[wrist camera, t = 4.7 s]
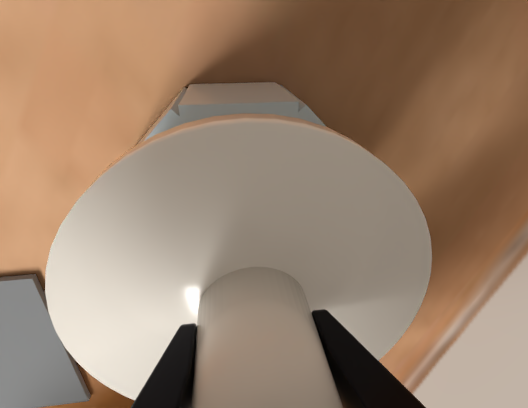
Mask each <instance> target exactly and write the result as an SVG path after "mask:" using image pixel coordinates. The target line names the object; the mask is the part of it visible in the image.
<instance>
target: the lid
mask: <svg viewBox="0 0 528 408" xmlns="http://www.w3.org/2000/svg"><path fill="white" fill-rule="evenodd" d="M431 264H432V248H431V237H430V233H429V229H428V226H427V222H426V218H425V216H424V214H423V212H422V210H421V208H420V206H419V204H418V202H417V199H416V198H415V197H414V195H413V194H412V193H411V191H410V190H409V188H408V187H407V186H406V184H405V183H404V182H403V181H402V180H401V179H400V178H399V177H398V176H397V175H396V174H395V173H394V172H393V171H392V170H391V169H390V168H389V167H388V166H387V165H386V164H385V163H383V162H382V161H381V160H379V159H378V158H377V157H375V156H374V155H373V154H372V153H370V152H369V151H368V150H366V149H365V148H363V147H362V146H360V145H359V144H357V143H356V142H355V141H353V140H352V139H350V138H348V137H346V136H344V135H342V134H340V133H338V132H336V131H334V130H332V129H330V128H328V127H325V126H322V125H319V124H316V123H313V122H309V121H306V120H303V119H299V118H293V117H287V116H281V115H275V114H252V113H241V114H231V115H222V116H213V117H209V118H205V119H200V120H196V121H192V122H188V123H184V124H181V125H179V126H176V127H174V128H171V129H168V130H166V131H163V132H161V133H158V134H156V135H154V136H152V137H150V138H149V139H147V140H145V141H143V142H142V143H140V144H138V145H136V146H134V147H133V148H131V149H130V150H128V151H127V152H126V153H124V154H123V155H122V156H121V157H119V158H118V159H117V160H115V161H114V162H113V163H111V164H110V165H109V166H108V167H107V168H106V169H105V170H104V171H103V172H102V173H101V174H100V175H99V177H98V178H97V179H96V180H95V181H94V182H93V183H92V184H91V185H90V186H89V187H88V189H87V190H86V191H85V192H84V193H83V195H82V196H81V197H80V198H79V199H78V201H77V202H76V203H75V205H74V206H73V207H72V209H71V210H70V212H69V213H68V215H67V216H66V218H65V219H64V221H63V222H62V224H61V225H60V228H59V230H58V232H57V235H56V237H55V239H54V241H53V244H52V246H51V249H50V253H49V258H48V262H47V266H46V277H45V294H46V300H47V306H48V312H49V315H50V318H51V320H52V323H53V326H54V329H55V331H56V333H57V334H58V336H59V338H60V340H61V341H62V343H63V345H64V347H65V348H66V349H67V351H68V352H69V353H70V354H71V355H72V357H73V358H74V359H75V360H76V362H77V363H78V364H79V365H80V366H82V367H83V368H84V369H85V370H86V371H87V372H88V373H89V374H90V375H91V376H93V377H94V378H96V379H97V380H98V381H100V382H101V383H103V384H104V385H105V386H107V387H109V388H110V389H112V390H114V391H116V392H118V393H120V394H121V395H123V396H125V397H128V398H130V399H132V400H136V398H137V396H138V395H139V393H140V391H141V390H142V388H143V386H144V385H145V383H146V381H147V380H148V378H149V376H150V375H151V373H152V371H153V370H154V368H155V366H156V365H157V363H158V361H159V360H160V358H161V356H162V355H163V353H164V352H165V350H166V348H167V347H168V345H169V343H170V342H171V340H172V338H173V337H174V335H175V333H176V332H177V330H178V328H179V327H180V326H181V325H182V324H190V323H195V324H196V326H197V332H196V347H195V361H194V375H193V389H192V403H191V408H343V405H342V402H341V399H340V396H339V394H338V391H337V388H336V385H335V382H334V379H333V376H332V373H331V370H330V367H329V364H328V361H327V358H326V355H325V352H324V349H323V346H322V343H321V340H320V337H319V334H318V331H317V328H316V325H315V322H314V320H313V317H312V314H311V313H312V311H313V310H321V309H325V310H327V311H328V312H329V313H330V314H331V315H332V316H333V317H334V318H335V319H337V320H338V321H339V322H340V323H341V324H342V325H343V326H344V327H345V328H346V329H347V330H348V331H349V332H350V333H351V334H352V335H353V336H354V337H355V338H356V339H357V340H358V341H359V342H360V343H361V344H362V345H363V346H364V347H365V348H366V349H367V350H368V351H369V352H370V353H371V354H372V355H373V356H374V357H375V358H376V359H377V360H379V359H381V358H382V357H383V356H384V355H385V354H386V353H387V352H388V351H389V350H390V349H391V348H392V347H393V346H394V345H395V344H396V343H397V341H398V340H399V339H400V338H401V337H402V335H403V334H404V333H405V331H406V330H407V329H408V327H409V326H410V324H411V323H412V321H413V319H414V318H415V316H416V314H417V312H418V310H419V309H420V306H421V304H422V301H423V299H424V296H425V294H426V291H427V287H428V283H429V279H430V275H431Z"/></svg>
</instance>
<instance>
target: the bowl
mask: <svg viewBox="0 0 528 408" xmlns="http://www.w3.org/2000/svg"><path fill="white" fill-rule="evenodd" d="M241 113H252V114H275V115H281V116H287V117H293V118H299V119H303V120H306V121H309V122H313V123H316V124H319V125H322V126H325V124H324V123H323V122H322V121H321V120H320V119H319V118H318V117H317V116H316V115H315V114H314V112H313V111H312V110H311V109H310V108H309V107H308V106H307V105H306V104H305V103H304V102H302V101H301V100H300V99H299V98H297V97H296V96H295V95H293V94H292V93H291V92H290V91H288V90H287V89H286V88H285V87H283V86H282V85H281V84H280V85H278V84H277V83H276V82H254V83H211V84H190V85H189V87H188V88H185V87H184V88H183V89H182V90H181V91H180V93H179V94H178V95H177V96H176V97H175V99H174V100H173V101H172V102H171V104H170V105H169V106H168V107H167V108H166V110H165V111H164V112H163V113H162V114H161V116H160V117H159V118H158V119H157V120H156V122H155V123H154V124H153V125H152V127H151V128H150V129H149V130H148V131H147V133H146V134H145V135H144V136H143V137H142V139H141V140H140V141H139V142H138V143H137V145H138V144H140V143H142V142H143V141H145V140H147V139H149V138H150V137H152V136H154V135H156V134H158V133H161V132H163V131H166V130H168V129H171V128H174V127H176V126H179V125H181V124H184V123H188V122H192V121H196V120H200V119H205V118H209V117H213V116H222V115H231V114H241ZM325 127H326V126H325Z"/></svg>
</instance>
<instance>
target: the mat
mask: <svg viewBox="0 0 528 408" xmlns="http://www.w3.org/2000/svg"><path fill="white" fill-rule="evenodd" d="M90 396H91V395H90V393H89V391H88V389H87V386H86V384H85V382H84V380H83V378H82V375H81V373H80V371H79V369H78V367H77V364H76V362H75V360H74V358H73V357H72V355H71V354H70V353H69V352H68V351H67V349H66V348H65V347H64V345H63V343H62V341H61V340H60V338H59V336H58V334H57V333H56V331H55V329H54V326H53V323H52V320H51V318H50V315H49V312H48V306H47V300H46V296H45V294H44V291H43V289H42V287H41V285H40V282H39V280H38V278H37V276H36V274H29V275H17V276H6V277H0V408H39V407H46V406H54V405H62V404H69V403H77V402H85V401H89V399H90Z"/></svg>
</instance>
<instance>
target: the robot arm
mask: <svg viewBox="0 0 528 408" xmlns="http://www.w3.org/2000/svg"><path fill="white" fill-rule="evenodd" d="M311 314H312V317H313V320H314V322H315V325H316V328H317V331H318V334H319V337H320V340H321V343H322V346H323V349H324V352H325V355H326V358H327V361H328V364H329V367H330V370H331V373H332V376H333V379H334V382H335V385H336V388H337V391H338V394H339V396H340V399H341V402H342V405H343V408H426V407H424V405H423V404H422V403H421V402H420V401H419V400H418V399H417V398H415V396H414V395H413V394H412V393H411V392H409V391H408V390H407V389H406V388H405V387H404V386H403V385H402V384H401V383H400V382H399V381H398V380H397V379H396V378H395V377H394V376H393V375H392V374H391V373H390V372H389V371H388V370H387V369H386V368H385V367H384V366H383V365H382V364H381V363H380V362H379V361H378V360H377V359H376V358H375V357H374V356H373V355H372V354H371V353H370V352H369V351H368V350H367V349H366V348H365V347H364V346H363V345H362V344H361V343H360V342H359V341H358V340H357V339H356V338H355V337H354V336H353V335H352V334H351V333H350V332H349V331H348V330H347V329H346V328H345V327H344V326H343V325H342V324H341V323H340V322H339V321H338V320H337V319H335V318H334V317H333V316H332V315H331V314H330V313H329V312H328V311H327V310H325V309H321V310H313V311H312V313H311ZM196 332H197V326H196V324H195V323H190V324H182V325H181V326H180V327H179V328H178V330H177V332H176V333H175V335H174V337H173V338H172V340H171V342H170V343H169V345H168V347H167V348H166V350H165V352H164V353H163V355H162V356H161V358H160V360H159V361H158V363H157V365H156V366H155V368H154V370H153V371H152V373H151V375H150V376H149V378H148V380H147V381H146V383H145V385H144V386H143V388H142V390H141V391H140V393H139V395H138V396H137V398H136V400H135V401H134V403H133V405H132V406H131V408H191V403H192V389H193V375H194V361H195V347H196Z"/></svg>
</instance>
